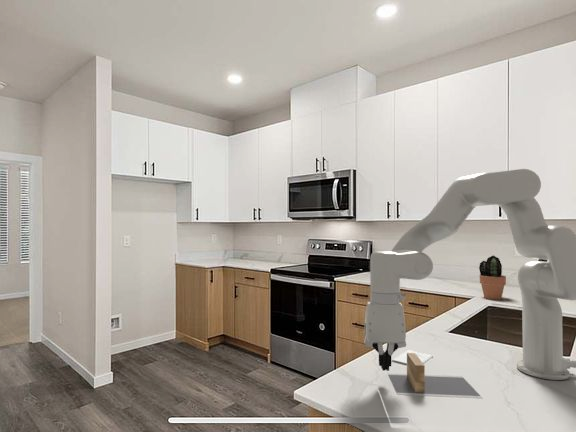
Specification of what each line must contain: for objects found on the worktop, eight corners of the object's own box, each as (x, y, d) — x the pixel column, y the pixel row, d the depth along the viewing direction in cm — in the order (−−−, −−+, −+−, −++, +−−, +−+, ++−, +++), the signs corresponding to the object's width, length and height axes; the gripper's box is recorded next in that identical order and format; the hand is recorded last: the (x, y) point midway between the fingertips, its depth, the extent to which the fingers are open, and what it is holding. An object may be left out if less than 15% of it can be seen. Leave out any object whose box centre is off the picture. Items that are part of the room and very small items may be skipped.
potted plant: (504, 297, 219) (504, 254, 220) (507, 301, 207) (507, 256, 208) (478, 295, 225) (478, 253, 226) (480, 299, 212) (480, 255, 213)
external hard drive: (391, 365, 113) (407, 354, 122) (418, 371, 107) (433, 360, 117) (391, 359, 113) (407, 349, 122) (418, 366, 107) (433, 354, 117)
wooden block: (415, 377, 101) (415, 353, 101) (424, 392, 92) (424, 365, 92) (406, 376, 101) (406, 352, 101) (415, 391, 92) (415, 365, 92)
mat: (461, 378, 102) (461, 376, 102) (482, 400, 89) (482, 398, 89) (387, 375, 103) (387, 373, 103) (397, 396, 90) (397, 394, 90)
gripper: (410, 296, 101) (410, 364, 100) (354, 295, 102) (354, 362, 101) (417, 301, 93) (418, 375, 93) (357, 300, 94) (357, 373, 94)
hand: (385, 368), depth 97 cm, fingers closed
